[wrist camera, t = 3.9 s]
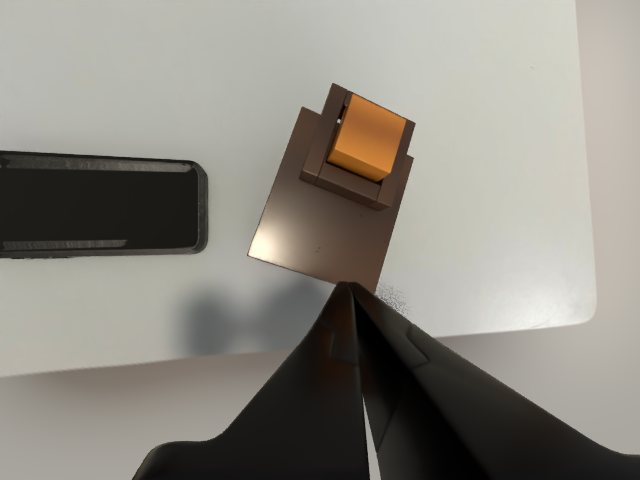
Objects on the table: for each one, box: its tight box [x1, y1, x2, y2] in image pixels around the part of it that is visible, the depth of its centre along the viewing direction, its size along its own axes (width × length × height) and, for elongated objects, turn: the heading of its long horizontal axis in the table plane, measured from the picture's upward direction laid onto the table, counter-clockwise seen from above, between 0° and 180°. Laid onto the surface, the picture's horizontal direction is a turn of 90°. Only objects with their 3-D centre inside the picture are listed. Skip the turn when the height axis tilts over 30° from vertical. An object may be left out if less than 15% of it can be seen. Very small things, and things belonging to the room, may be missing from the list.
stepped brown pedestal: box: [247, 83, 416, 294], centre depth 20 cm, size 14×10×7 cm
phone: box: [0, 150, 207, 259], centre depth 19 cm, size 8×1×15 cm
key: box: [327, 94, 406, 182], centre depth 16 cm, size 4×4×2 cm
